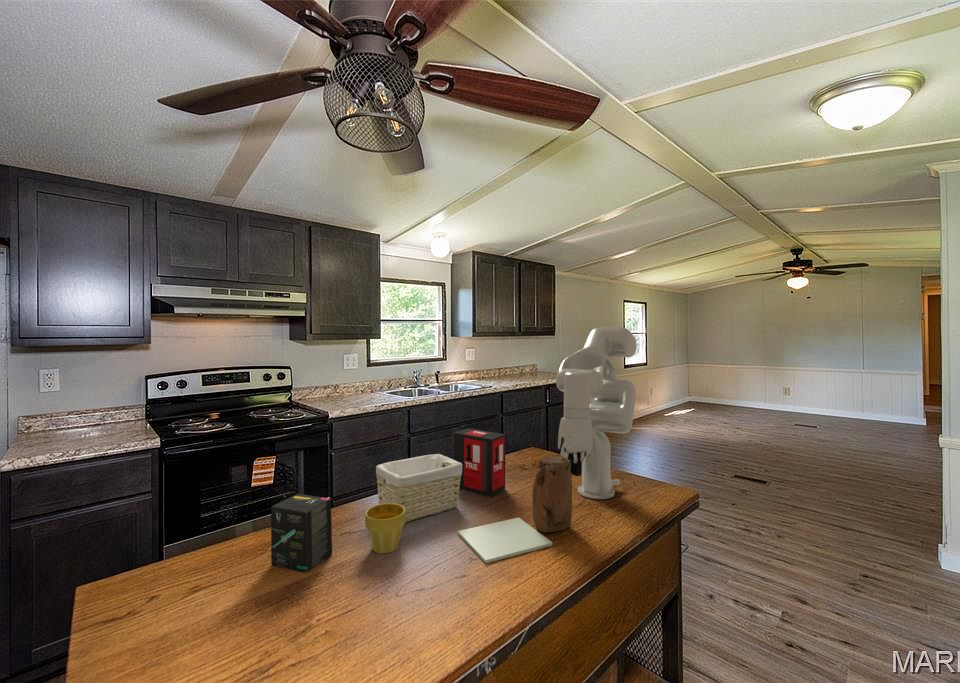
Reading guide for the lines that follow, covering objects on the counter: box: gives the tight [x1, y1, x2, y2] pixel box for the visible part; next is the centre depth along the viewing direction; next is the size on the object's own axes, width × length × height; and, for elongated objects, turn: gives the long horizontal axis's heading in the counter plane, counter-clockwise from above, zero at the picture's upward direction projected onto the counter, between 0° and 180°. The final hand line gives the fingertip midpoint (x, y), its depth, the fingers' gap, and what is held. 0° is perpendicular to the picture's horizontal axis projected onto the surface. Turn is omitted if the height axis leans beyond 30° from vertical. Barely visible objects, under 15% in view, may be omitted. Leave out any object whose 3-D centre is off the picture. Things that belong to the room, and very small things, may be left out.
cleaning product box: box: [453, 428, 506, 499], centre depth 155 cm, size 16×9×20 cm, turn 55°
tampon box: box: [270, 493, 333, 574], centre depth 106 cm, size 11×9×15 cm
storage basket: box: [375, 453, 462, 523], centre depth 137 cm, size 24×16×15 cm
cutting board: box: [457, 517, 553, 564], centre depth 117 cm, size 20×17×1 cm
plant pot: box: [364, 503, 406, 554], centre depth 112 cm, size 10×10×10 cm
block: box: [532, 455, 573, 533], centre depth 124 cm, size 11×8×20 cm
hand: (575, 474), depth 128 cm, fingers closed
